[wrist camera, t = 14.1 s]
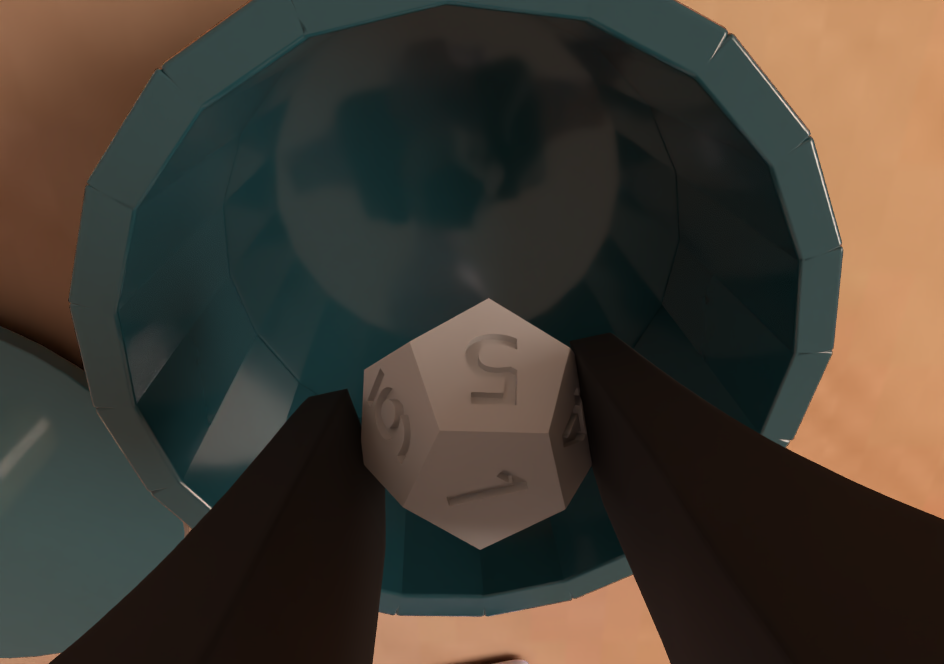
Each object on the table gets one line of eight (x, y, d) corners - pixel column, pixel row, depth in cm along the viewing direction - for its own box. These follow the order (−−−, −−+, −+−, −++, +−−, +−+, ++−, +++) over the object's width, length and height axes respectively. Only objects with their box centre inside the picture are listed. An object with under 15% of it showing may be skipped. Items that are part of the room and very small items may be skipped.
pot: (703, 393, 18) (814, 555, 13) (304, 476, 19) (256, 662, 14) (690, -102, 12) (888, -174, 7) (103, 43, 13) (-125, 77, 7)
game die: (336, 302, 10) (301, 414, 7) (561, 247, 10) (611, 342, 7) (400, 463, 11) (390, 601, 9) (592, 420, 11) (641, 549, 9)
